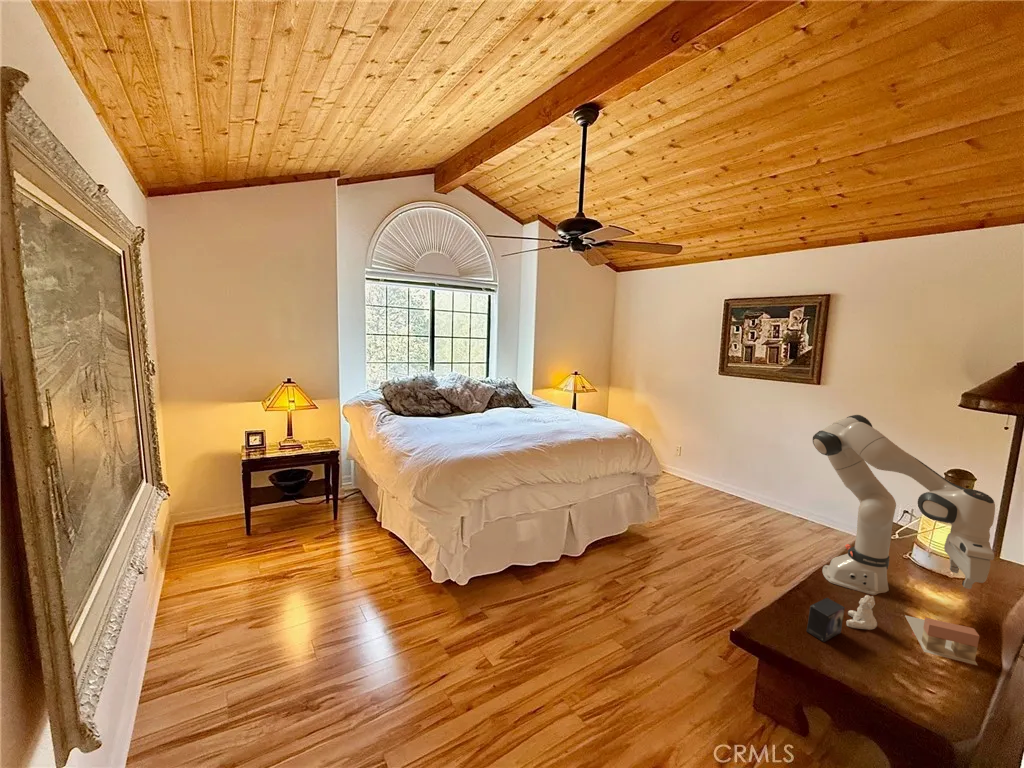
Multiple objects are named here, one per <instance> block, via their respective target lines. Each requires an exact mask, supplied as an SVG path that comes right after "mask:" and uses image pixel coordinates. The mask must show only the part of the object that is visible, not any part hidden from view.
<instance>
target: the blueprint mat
mask: <svg viewBox="0 0 1024 768" xmlns="http://www.w3.org/2000/svg"><path fill="white" fill-rule="evenodd" d="M904 617H905V618H906V620H907V622H908V624H909V626H910V628H911V630H912V632H913V634H914V636H915V637H916V639H917V641H918V643H919V645H920V647H921V649H922V650H923V652H924V653H928V654H931V655H934V656H939V657H942V658H947V659H950V660H951V659H952V660H955V661H959V662H964V663H966V664H970V665H975V666H979V665H978V663H977V662H976V660H975V661H971V660H967V659H963V658H959V657H956V655H955V654H954V652H953V650H952V649H951V645H952V641H949V640H946V644H945V650H944V654H943V653H939V652H935V651H931V650H927V649H926V648H925V646H924V644H923V642H922V636H923V630H924V628H923V627H924V621H925V619H923V618H920V617H914V616H909V615H906V614H905V615H904Z"/></svg>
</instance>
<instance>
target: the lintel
mask: <svg viewBox="0 0 1024 768" xmlns="http://www.w3.org/2000/svg"><path fill="white" fill-rule="evenodd" d="M924 620H925V621H924V627H923V628H924V630H925V632H926V633H927V635H929V636H933V637H937V638H941V639H945V640H949V641H954V642H958V643H962V644H966V645H970V646H974V647H977V648H978V646H979V640H980V635H979V633H978V632H977V630H976V629H975V628H974V627H969V626H964V625H961V624H955V623H951V622H947V621H943V620H939V619H938V620H937V619H934V618H929V617H924Z"/></svg>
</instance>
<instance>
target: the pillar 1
mask: <svg viewBox="0 0 1024 768" xmlns="http://www.w3.org/2000/svg"><path fill="white" fill-rule="evenodd" d="M922 642H923V644H924V646H925V648H926V649H927V650H931V651H935V652H939V653H943V654H944V650H945V644H946V640H945V639H941V638H937V637H933V636H929V635H927V633H926V632H925V630H923V636H922Z"/></svg>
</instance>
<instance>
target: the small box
mask: <svg viewBox="0 0 1024 768" xmlns="http://www.w3.org/2000/svg"><path fill="white" fill-rule="evenodd" d="M844 613H845V606H843V605H841V604H840V603H838V602H836V601H834V600H832V599H830V598H829V597H826V598H823V599H821V600H819V601H817V602H815V603H813V604H811V605H810V606H809V614H808V618H807V619H808V621H807V627H806V632H807V633H809V635H811V636H814V637H815V638H816V639H818V640H820V641H821V642H823V643H825V642H827V641H829V640H830V639H833V638H834V637H836V636H837V635H840V634H841V633H842V627H843V620H844Z"/></svg>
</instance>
